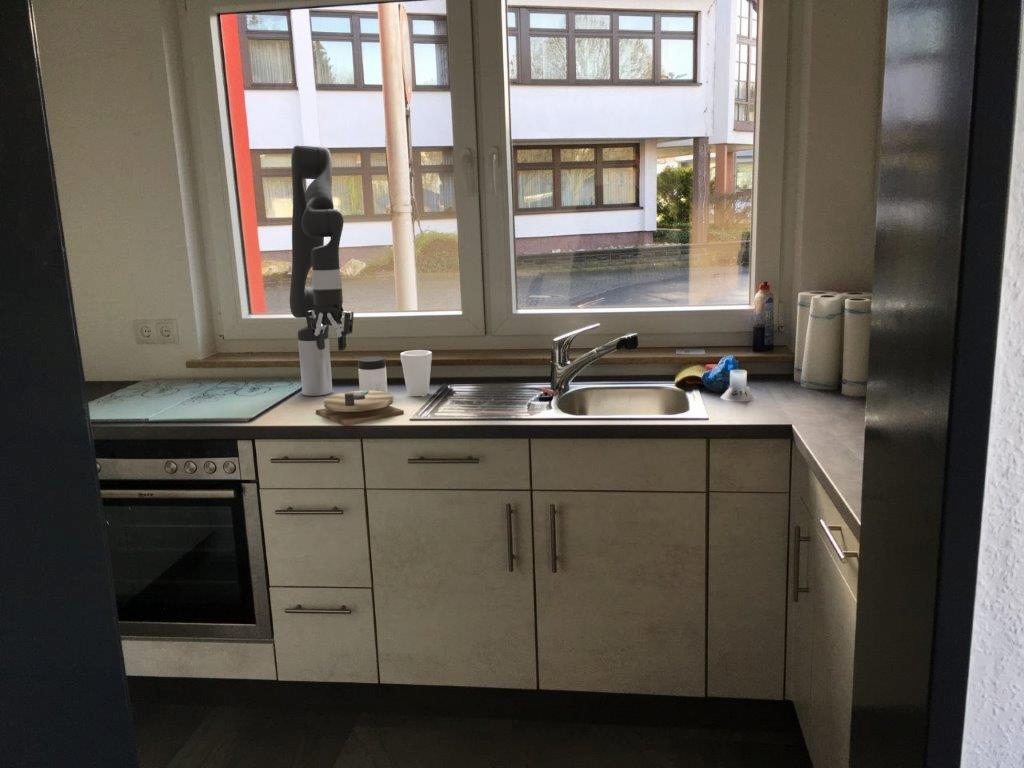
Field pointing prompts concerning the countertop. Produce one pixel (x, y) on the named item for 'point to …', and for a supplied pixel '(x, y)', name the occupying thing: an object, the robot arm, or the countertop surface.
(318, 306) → the robot arm
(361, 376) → the jar
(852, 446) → the countertop surface
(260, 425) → the countertop surface
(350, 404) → the handwheel
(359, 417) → the mount
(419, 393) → the foam cup
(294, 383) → the countertop surface
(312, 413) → the countertop surface
